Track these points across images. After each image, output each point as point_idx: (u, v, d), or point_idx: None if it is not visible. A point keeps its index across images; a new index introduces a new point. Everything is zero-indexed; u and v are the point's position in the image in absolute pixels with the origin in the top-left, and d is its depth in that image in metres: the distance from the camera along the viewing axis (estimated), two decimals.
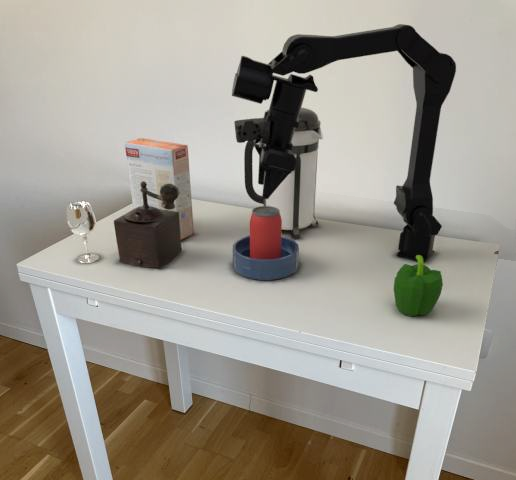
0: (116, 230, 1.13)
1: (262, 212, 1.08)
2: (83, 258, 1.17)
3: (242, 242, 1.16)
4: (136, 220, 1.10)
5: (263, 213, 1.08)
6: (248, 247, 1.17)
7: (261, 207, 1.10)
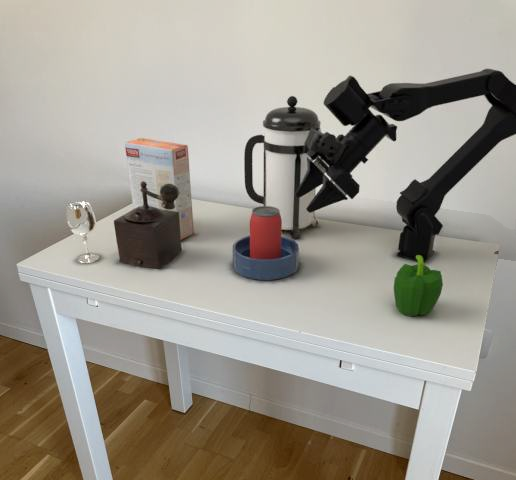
0: (116, 230, 1.13)
1: (262, 212, 1.08)
2: (83, 258, 1.17)
3: (242, 242, 1.16)
4: (136, 220, 1.10)
5: (263, 213, 1.08)
6: (248, 247, 1.17)
7: (261, 207, 1.10)
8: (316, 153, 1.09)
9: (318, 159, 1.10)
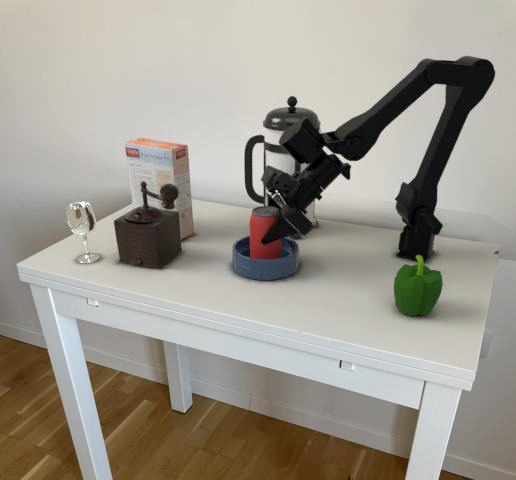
0: (116, 230, 1.13)
1: (262, 212, 1.08)
2: (83, 258, 1.17)
3: (242, 242, 1.16)
4: (136, 220, 1.10)
5: (263, 213, 1.08)
6: (248, 247, 1.17)
7: (261, 207, 1.10)
8: None
9: (277, 195, 1.11)
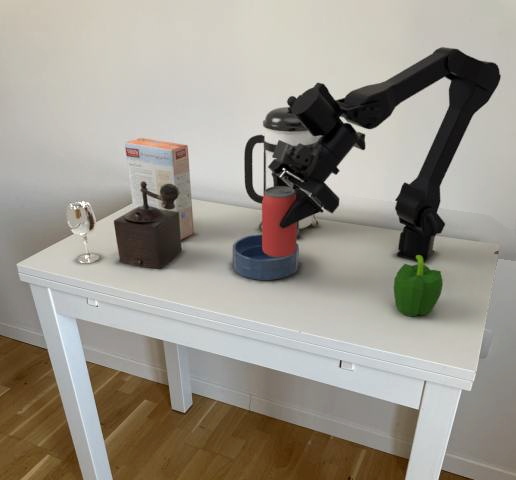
0: (116, 230, 1.13)
1: (276, 193, 0.98)
2: (83, 258, 1.17)
3: (242, 242, 1.16)
4: (136, 220, 1.10)
5: (277, 193, 0.98)
6: (248, 247, 1.17)
7: (272, 188, 1.00)
8: (280, 166, 1.02)
9: (285, 174, 1.02)
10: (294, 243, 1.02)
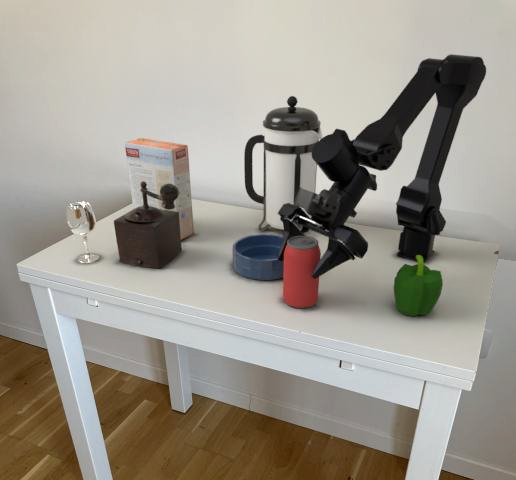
0: (116, 230, 1.13)
1: (300, 244, 0.95)
2: (83, 258, 1.17)
3: (242, 242, 1.16)
4: (136, 220, 1.10)
5: (302, 244, 0.95)
6: (248, 247, 1.17)
7: (292, 238, 0.97)
8: (294, 211, 0.99)
9: (295, 217, 0.99)
10: (317, 291, 1.00)
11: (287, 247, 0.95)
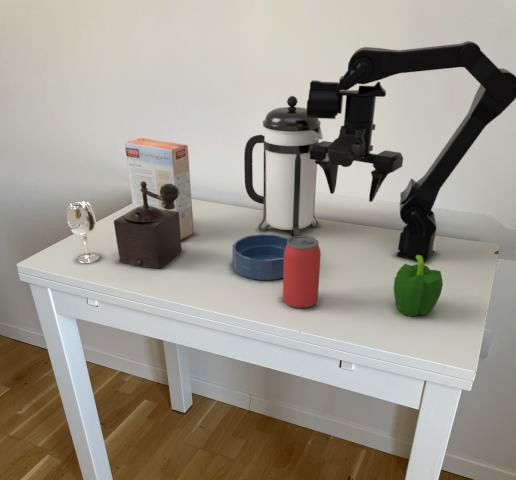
0: (116, 230, 1.13)
1: (300, 244, 0.95)
2: (83, 258, 1.17)
3: (242, 242, 1.16)
4: (136, 220, 1.10)
5: (302, 244, 0.95)
6: (248, 247, 1.17)
7: (292, 238, 0.97)
8: (325, 154, 1.12)
9: (327, 155, 1.13)
10: (317, 291, 1.00)
11: (287, 247, 0.95)
